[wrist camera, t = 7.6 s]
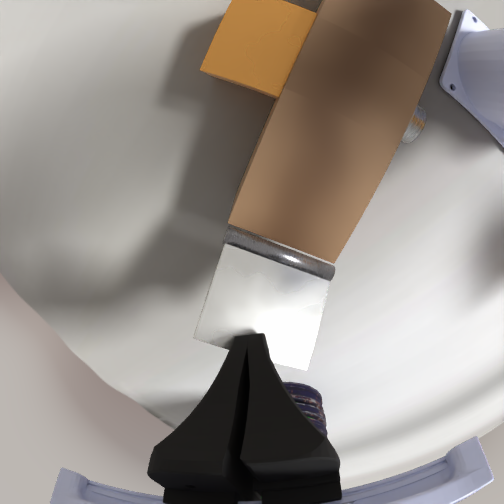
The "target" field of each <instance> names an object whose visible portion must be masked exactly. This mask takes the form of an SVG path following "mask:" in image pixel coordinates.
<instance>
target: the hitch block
mask: <svg viewBox="0 0 504 504" xmlns="http://www.w3.org/2000/svg"><path fill="white" fill-rule="evenodd" d="M316 13H317V16H316V18H315V20H314V22H313V24H312V26H311V29H310V31H309V33H308V35H307V37H306V39H305V41H304V44H303V46H302V48H301V50H300V52H299V54H298V56H297V59H296V61H295V63H294V65H293V67H292V69H291V72H290V74H289V76H288V78H287V80H286V83H285V85H284V87H283V89H282V91H281V94H280V96H279V97H278V98H276V100H275V102H274V104H273V107H272V109H271V111H270V114H269V116H268V118H267V120H266V123H265V125H264V127H263V130H262V132H261V134H260V137H259V139H258V142H257V144H256V146H255V149H254V151H253V154H252V156H251V158H250V161H249V163H248V166H247V168H246V171H245V173H244V175H243V178H242V180H241V183H240V185H239V188H238V190H237V193H236V196H235V199H234V203H233V206H232V210H231V213H230V217H229V220H228V223H229V224H231V225H234V226H237V227H239V228H242V229H245V230H247V231H250V232H253V233H255V234H258V235H261V236H263V237H266V238H269V239H271V240H274V241H277V242H279V243H282V244H285V245H287V246H290V247H292V248H295V249H298V250H300V251H303V252H305V253H308V254H311V255H313V256H316V257H318V258H321V259H324V260H326V261H329V262H331V263H335V261H336V259H337V258H338V256H339V254H340V253H341V251H342V249H343V248H344V246H345V244H346V243H347V241H348V239H349V238H350V236H351V234H352V232H353V231H354V229H355V227H356V225H357V224H358V222H359V220H360V218H361V217H362V215H363V213H364V211H365V209H366V208H367V206H368V204H369V202H370V200H371V198H372V197H373V195H374V193H375V191H376V189H377V187H378V185H379V183H380V181H381V180H382V178H383V176H384V174H385V172H386V170H387V168H388V166H389V164H390V162H391V160H392V158H393V156H394V154H395V152H396V150H397V148H398V146H399V144H400V141H401V139H402V137H403V135H404V133H405V131H406V129H407V127H408V124H409V122H410V120H411V118H412V116H413V113H414V111H415V109H416V107H417V104H418V102H419V100H420V97H421V95H422V93H423V90H424V88H425V85H426V83H427V81H428V78H429V76H430V73H431V71H432V68H433V65H434V63H435V60H436V58H437V55H438V52H439V50H440V47H441V44H442V41H443V38H444V35H445V33H446V30H447V27H448V24H449V20H450V17H451V13H450V12H449V11H447V10H446V9H445V8H444V7H442V6H441V5H440V4H438V3H437V2H436V1H434V0H322V1H321V3H320V5H319V7H318V9H317V12H316Z"/></svg>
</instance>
